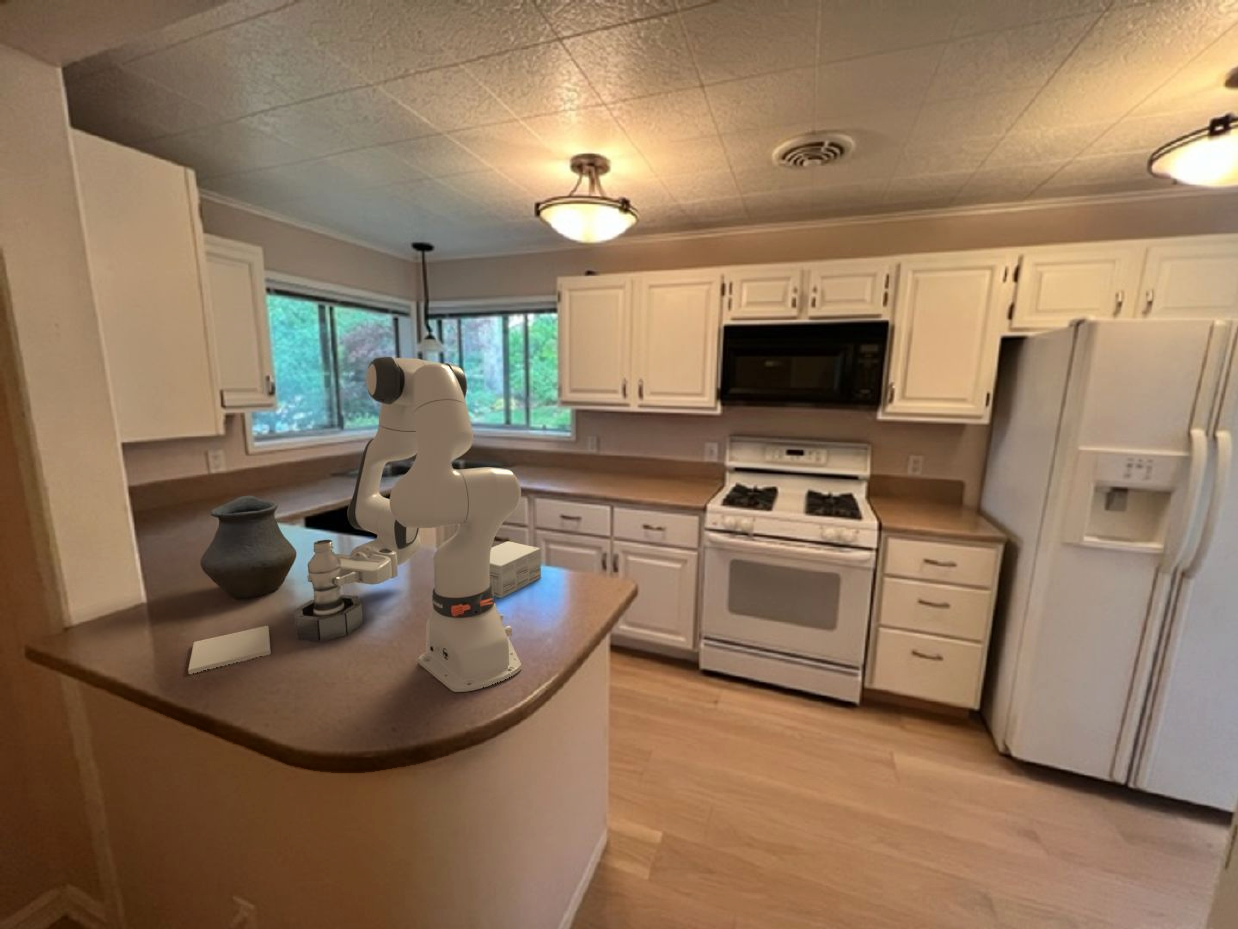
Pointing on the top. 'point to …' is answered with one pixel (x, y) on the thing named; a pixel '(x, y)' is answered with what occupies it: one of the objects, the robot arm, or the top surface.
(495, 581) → the supplement box
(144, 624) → the top surface
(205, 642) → the ceramic tile
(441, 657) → the robot arm
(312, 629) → the metal ring
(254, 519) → the dark grey clay pot
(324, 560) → the plastic bottle
